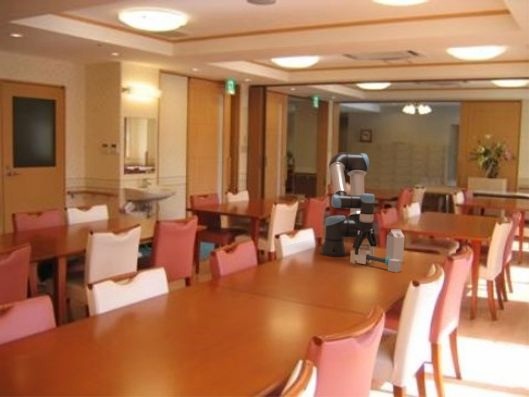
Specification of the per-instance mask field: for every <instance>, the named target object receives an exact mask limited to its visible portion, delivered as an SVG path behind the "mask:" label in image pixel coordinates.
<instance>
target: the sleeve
mask: <svg viewBox="0 0 529 397" xmlns="http://www.w3.org/2000/svg"><path fill="white" fill-rule="evenodd" d="M371 252H372V251H370V250H365V249H363V250H360V260H359V261H357V263H356V264H363V265H366V263H369V264H371V262H372V260H368V259H366V255H370V256H371Z"/></svg>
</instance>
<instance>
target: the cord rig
mask: <svg viewBox="0 0 529 397" xmlns="http://www.w3.org/2000/svg"><path fill="white" fill-rule="evenodd" d="M349 256H350V258H349V259H350V260H349V263H350V264H353V265H354V264H358V263H357V261H356V260H355V250H353V249H350V255H349ZM366 259H368V260H371V261H372V262H379V263H384V264H385V266H387V272H392V273H399V272H401V269H402V262H401V260H398V259H391V258H389V257H387V258H386V257H379V256H376V255H374V256H370V255H366Z"/></svg>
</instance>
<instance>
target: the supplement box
mask: <svg viewBox="0 0 529 397" xmlns="http://www.w3.org/2000/svg"><path fill="white" fill-rule="evenodd" d="M361 237H362V236H361ZM369 246H370V244H369V242H368V239H367V238H365V239H364V240H363V242H362V244H361V246H360V248H359V249H360V250H363V249H365V250H369Z"/></svg>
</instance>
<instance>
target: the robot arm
mask: <svg viewBox="0 0 529 397" xmlns="http://www.w3.org/2000/svg"><path fill="white" fill-rule="evenodd" d="M328 169H329V173H330V174H331V181H332V187H333V194H332V195H331V200H330V201H331V202H330V203H331V207H332V208H338V209H349V210H350V213H349V214H348V215H347V217H346V216H345V215H343V214H342V215H338V214H337V215H331V216H328V217H326V218H325V224H324V225H325V229H324V241H323V244H322V247H321V249H320V254H322V255H324V256H326V257H327V256H328V257H346V256H347V250H346V249H347V248H346V246H345V238H348V239H349V238H351V239H352V238H353V239H354V241H353V245H352V248H353V249H354V251H355V260H356V261H359V260H360V249H359V248H360V246H361V244H362V242H363V240H364V239H365V238H367V239H368V242H369V244H370V246H369V250H370V251H372V252H371V256H375V255H374V253H375V247H377V245H378V242H377V239H376V234H375V229H374V222H373V221H374V215H375V214H374V212H375V202H376V199H375V197H376V196H375V194H373V193H367V192H366V193H365V176H366V175H367V173H368V172H369V171H370V159H369V156H368V155H367V153H364V152H363V153H362V152H347V151H346V152H345V151H342V152H339V153H336V154H335V155H333V157H332V158H331V159H330V161H329V164H328ZM345 172H347V176H348V177H349V181H350V182H349V185H350V187H349V189H350V192H349V194H348V190H347V189H348V188H347V183H346V178H345ZM361 236H362V237H361Z"/></svg>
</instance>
